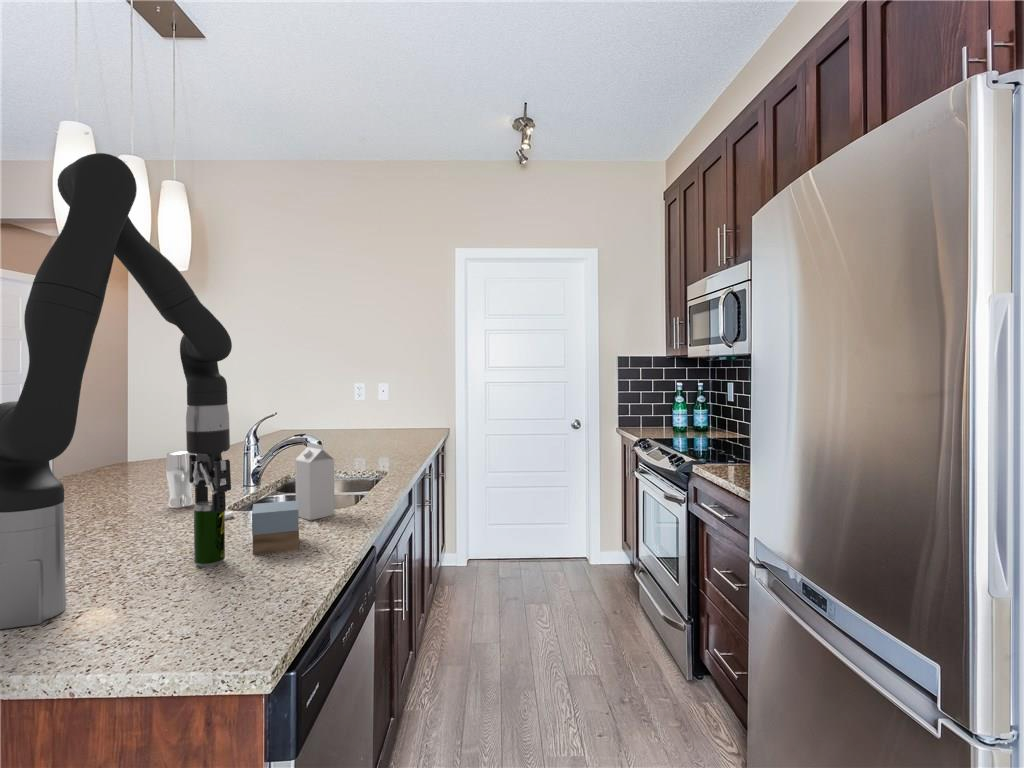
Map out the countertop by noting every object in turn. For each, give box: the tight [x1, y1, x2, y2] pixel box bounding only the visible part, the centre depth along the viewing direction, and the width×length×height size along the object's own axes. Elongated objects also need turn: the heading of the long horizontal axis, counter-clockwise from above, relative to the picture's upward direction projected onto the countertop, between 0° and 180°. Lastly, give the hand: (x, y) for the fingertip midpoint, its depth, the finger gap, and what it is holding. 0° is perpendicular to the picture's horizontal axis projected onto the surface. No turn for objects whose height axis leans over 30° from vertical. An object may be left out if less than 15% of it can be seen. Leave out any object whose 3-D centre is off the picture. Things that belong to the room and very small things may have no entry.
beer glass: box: [165, 450, 194, 509], centre depth 159 cm, size 7×7×15 cm
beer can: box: [193, 499, 226, 568], centre depth 111 cm, size 5×5×12 cm
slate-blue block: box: [251, 499, 300, 536], centre depth 122 cm, size 9×9×4 cm
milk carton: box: [295, 442, 335, 521], centre depth 147 cm, size 7×7×19 cm
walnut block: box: [252, 529, 300, 555], centre depth 122 cm, size 9×9×4 cm
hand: (210, 508), depth 111 cm, fingers open, 8 cm apart
